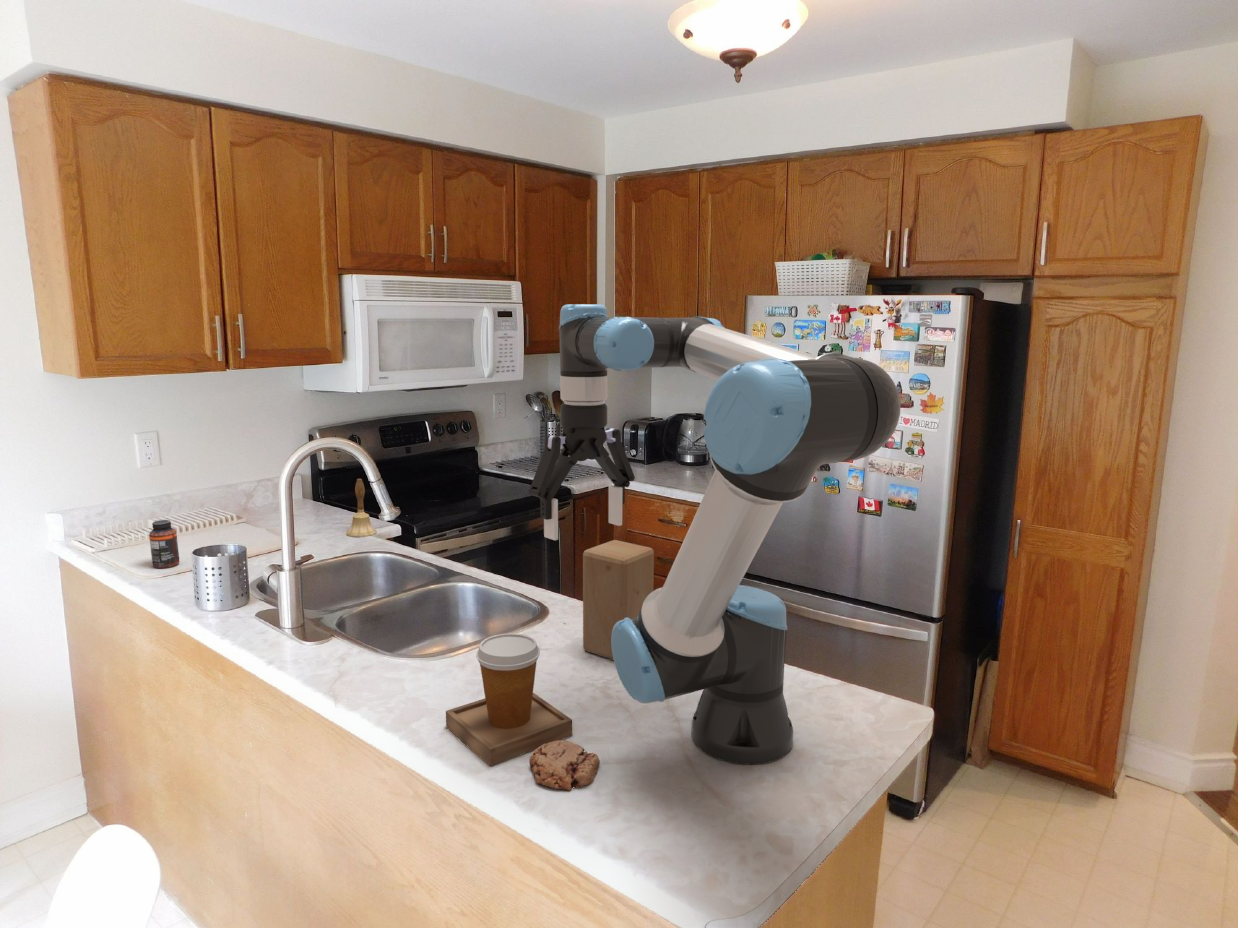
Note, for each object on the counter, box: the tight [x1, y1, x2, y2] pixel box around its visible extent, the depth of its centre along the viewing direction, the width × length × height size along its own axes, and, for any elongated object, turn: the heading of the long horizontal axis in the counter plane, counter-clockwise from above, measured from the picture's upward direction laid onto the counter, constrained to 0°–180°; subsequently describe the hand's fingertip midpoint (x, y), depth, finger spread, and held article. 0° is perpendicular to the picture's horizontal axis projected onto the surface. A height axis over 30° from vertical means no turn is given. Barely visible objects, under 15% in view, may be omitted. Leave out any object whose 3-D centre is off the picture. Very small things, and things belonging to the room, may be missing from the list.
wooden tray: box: [445, 692, 573, 767], centre depth 124 cm, size 14×14×3 cm
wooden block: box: [582, 539, 655, 661], centre depth 153 cm, size 10×10×20 cm
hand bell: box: [345, 478, 378, 538], centre depth 231 cm, size 8×8×16 cm
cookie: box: [529, 740, 601, 792], centre depth 114 cm, size 10×11×3 cm
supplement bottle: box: [148, 519, 180, 569], centre depth 201 cm, size 6×6×11 cm
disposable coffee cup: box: [475, 633, 541, 728], centre depth 123 cm, size 10×10×12 cm
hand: (584, 531), depth 134 cm, fingers open, 13 cm apart
